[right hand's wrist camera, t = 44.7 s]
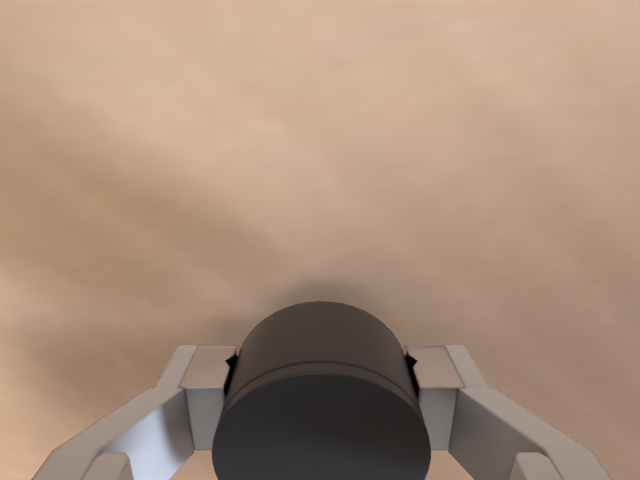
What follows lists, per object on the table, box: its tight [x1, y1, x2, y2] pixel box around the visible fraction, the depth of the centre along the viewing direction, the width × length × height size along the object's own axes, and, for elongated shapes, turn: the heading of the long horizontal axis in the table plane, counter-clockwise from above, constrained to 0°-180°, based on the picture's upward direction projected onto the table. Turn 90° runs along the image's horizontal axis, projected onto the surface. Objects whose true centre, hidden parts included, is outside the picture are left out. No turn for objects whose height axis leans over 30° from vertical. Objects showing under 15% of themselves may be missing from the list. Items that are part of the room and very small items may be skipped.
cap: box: [212, 301, 431, 480], centre depth 9 cm, size 4×4×3 cm
